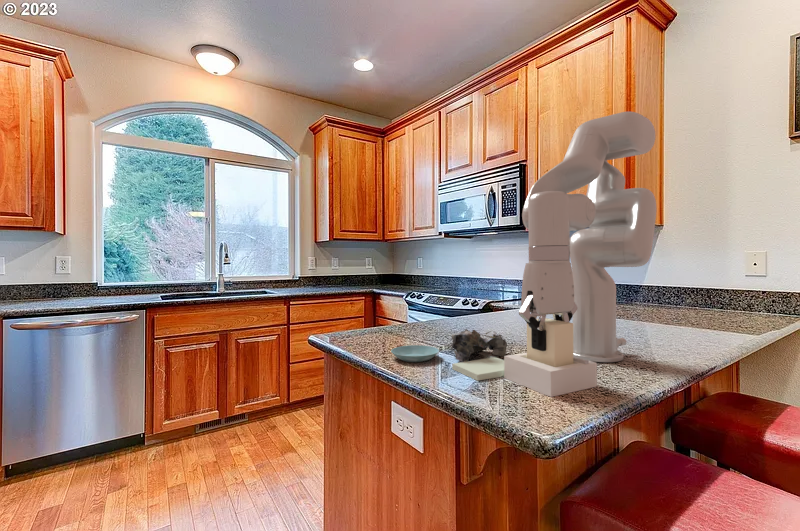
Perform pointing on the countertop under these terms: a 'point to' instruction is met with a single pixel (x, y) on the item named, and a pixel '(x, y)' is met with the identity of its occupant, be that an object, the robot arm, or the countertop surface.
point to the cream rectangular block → (553, 344)
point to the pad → (481, 368)
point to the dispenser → (550, 375)
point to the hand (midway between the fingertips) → (549, 346)
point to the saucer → (415, 353)
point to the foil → (476, 344)
